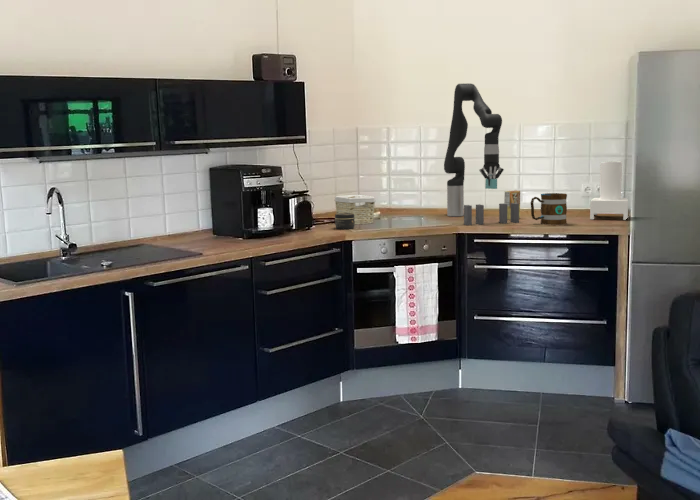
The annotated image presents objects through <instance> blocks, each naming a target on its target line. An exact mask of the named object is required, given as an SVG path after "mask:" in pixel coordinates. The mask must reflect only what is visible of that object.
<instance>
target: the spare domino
mask: <svg viewBox="0 0 700 500" xmlns="http://www.w3.org/2000/svg"><path fill="white" fill-rule="evenodd" d="M484 187H485V189H488V190H489V189H491V190H493V189H495V190H497V189H498V178H497V179H490V186H489V185H488V179H485V186H484Z"/></svg>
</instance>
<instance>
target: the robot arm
mask: <svg viewBox="0 0 700 500" xmlns="http://www.w3.org/2000/svg"><path fill="white" fill-rule="evenodd" d="M453 95H454V96H453V111H452V117H451V124H450V128H449V129H450V130H449V138H448V145H447V148H446V153H445V156H444V157H445V158H444V161H443V170H444V173H446V174H453V175H454V174H455V175H454V176H453V177H452V178H450V179H448V180H447V182H446V188H447V189H446V191H447V194H446V200H447V201H446V207H447V208H446V213H447V214H446V215H447V217H464V205H465V204H464V200H465V199H464V198H465V197H464V193H465V192H464V188H465V187H464V183H465V169H466V168H465V167H466V163H465V159H464V157H462V156H455V155H456V152H457V150H458V149H459V147H460V146H461V144H462V143H463V142H464V141H465V139H466V137H467V134H468V133H467V132H468V128H469V124H468V123H469V122H468V121H467V118H466V116H465V114H464V112H463V103H464V102H469V101H472V102H473V111H474V113H475V115H477V116H478V118H479V120H480V124H481V126H482V127H483V128H486V129H492V130H491V131H490V132H486V133H485V134H484V147H483V163H484V164H483V166H482V167H481V168H480V169H478V170H479V172H480V174H481V175H482V176H483V178H484V179H485V180H486V179H488V185H489V186H490V179H497V180H498V179H499V178H500V176H501V175H502V173H503V172H504V171H505V169H504V168H502V167H501V165H500V148H499V147H500V146H499V136H500V132H501V128H502V125H503V118H502V116H501V114H499V113H493V112H492V109H491V108H490V107H489V105H488V104H486V102H485V101H484V99H483V98H482V95H481V94H480V91H479V90H478V88H477V86H476V85H475V84H474V83H457V84H456V85H455V88H454V94H453Z"/></svg>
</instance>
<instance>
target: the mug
mask: <svg viewBox="0 0 700 500" xmlns="http://www.w3.org/2000/svg"><path fill="white" fill-rule="evenodd" d="M567 198H568V194H567V193H561V192H554V193H553V192H551V193H550V192H549V193H548V192H547V193H540V198H539V197H538V196H534V197H532V198H531V200H530V213H531V214H530V215H531V217H532V219H533V220H534V221H538V220H540V224H541V225H549V226H550V225H554V226H555V225H557V226H558V225H566V224H567V223H568V222H567V212H568V210H567V209H568V206H567V200H568V199H567ZM535 200H537V201H538V202H539V203H540V216H538V217H536V216H535V206H534V203H535Z"/></svg>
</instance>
